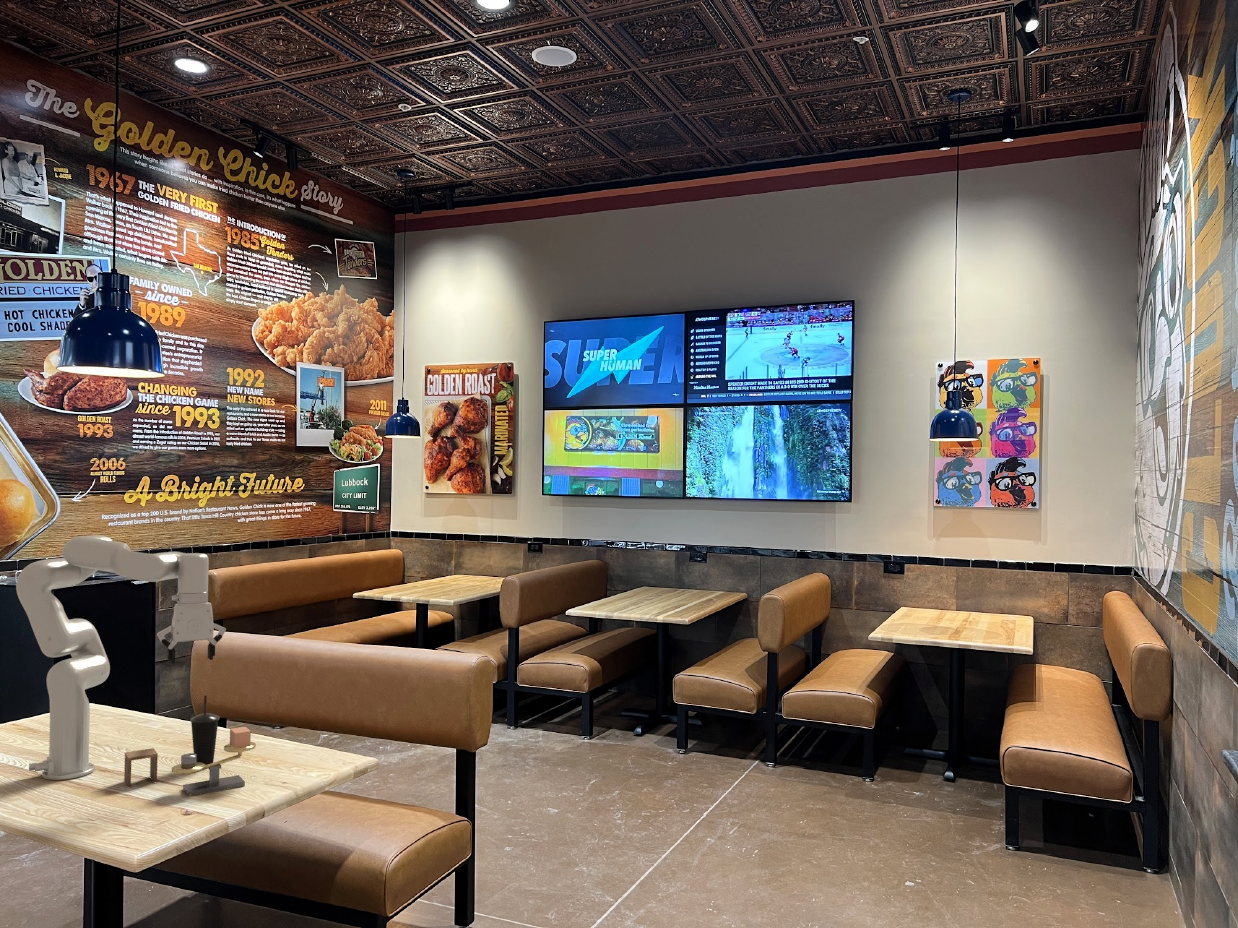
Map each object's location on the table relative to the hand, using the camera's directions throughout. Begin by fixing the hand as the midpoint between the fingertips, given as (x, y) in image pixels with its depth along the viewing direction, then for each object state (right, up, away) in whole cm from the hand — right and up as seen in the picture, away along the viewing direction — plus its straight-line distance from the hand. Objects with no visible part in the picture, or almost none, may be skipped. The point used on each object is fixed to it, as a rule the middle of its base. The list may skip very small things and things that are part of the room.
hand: (191, 660), depth 249 cm
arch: (-12, -32, -3) cm, 34 cm away
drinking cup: (-2, -33, +11) cm, 35 cm away
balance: (+9, -32, -7) cm, 34 cm away
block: (+16, -20, -4) cm, 26 cm away
